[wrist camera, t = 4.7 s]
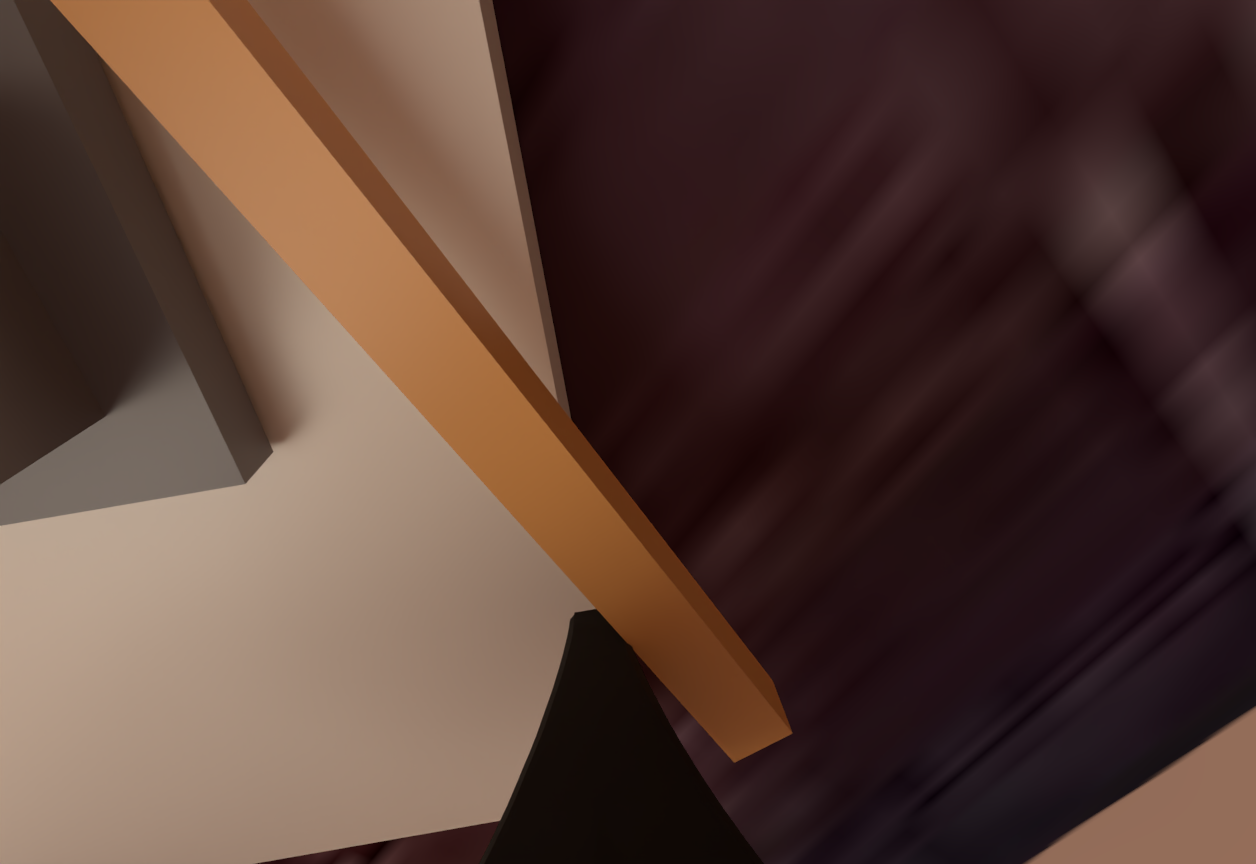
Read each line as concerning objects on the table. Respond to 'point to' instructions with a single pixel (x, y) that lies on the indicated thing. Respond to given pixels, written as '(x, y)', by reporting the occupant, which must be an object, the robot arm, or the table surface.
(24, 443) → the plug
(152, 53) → the orange long bar
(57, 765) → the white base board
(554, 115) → the table surface
